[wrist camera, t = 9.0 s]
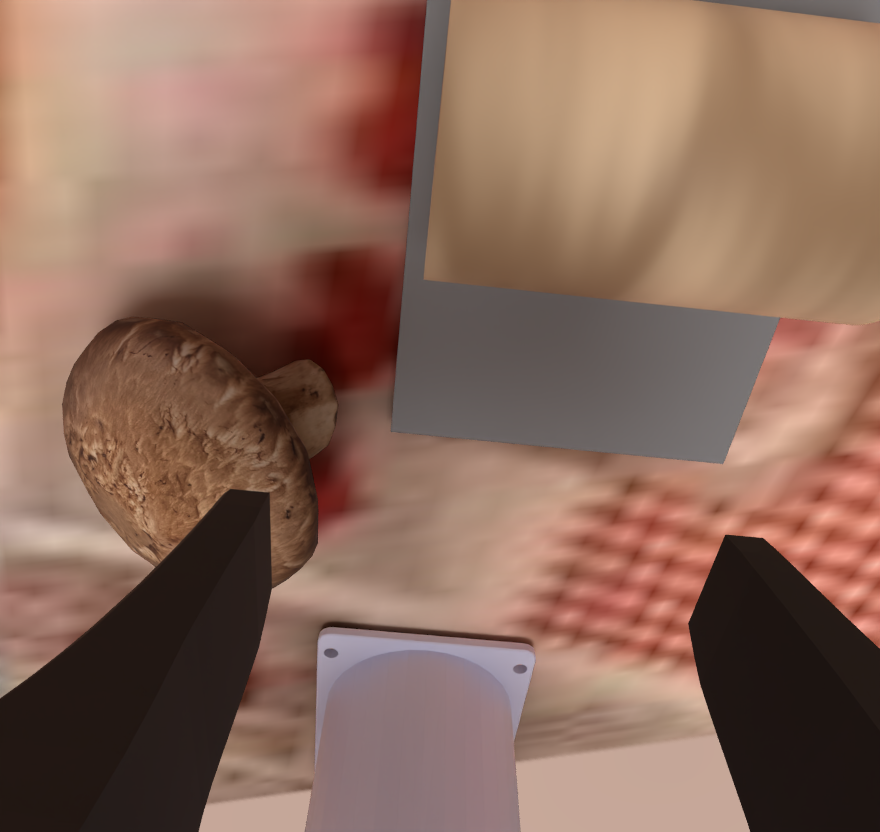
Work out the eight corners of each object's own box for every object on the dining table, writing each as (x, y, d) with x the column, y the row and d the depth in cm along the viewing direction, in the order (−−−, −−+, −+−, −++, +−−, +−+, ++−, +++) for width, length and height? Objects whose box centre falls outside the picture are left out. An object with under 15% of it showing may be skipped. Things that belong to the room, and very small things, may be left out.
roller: (780, 266, 19) (889, 374, 14) (428, 228, 18) (418, 326, 14) (872, 18, 16) (1052, 50, 11) (454, -34, 15) (453, -25, 11)
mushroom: (432, 385, 18) (238, 565, 14) (377, 526, 24) (235, 673, 21) (196, 203, 19) (-31, 324, 16) (204, 380, 26) (44, 495, 22)
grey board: (717, 452, 23) (724, 465, 22) (392, 420, 22) (390, 433, 22) (975, -230, 14) (998, -238, 13) (453, -303, 14) (453, -314, 13)
